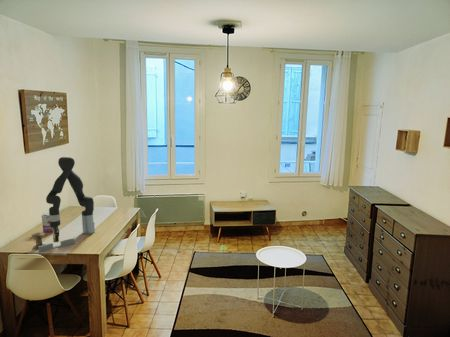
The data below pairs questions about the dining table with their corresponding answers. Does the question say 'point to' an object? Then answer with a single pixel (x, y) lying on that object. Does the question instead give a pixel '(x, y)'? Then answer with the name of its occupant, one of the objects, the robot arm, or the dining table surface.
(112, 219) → the dining table surface
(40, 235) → the bobbin
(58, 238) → the tab
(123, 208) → the dining table surface
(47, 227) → the candy bar box
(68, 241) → the notch board
